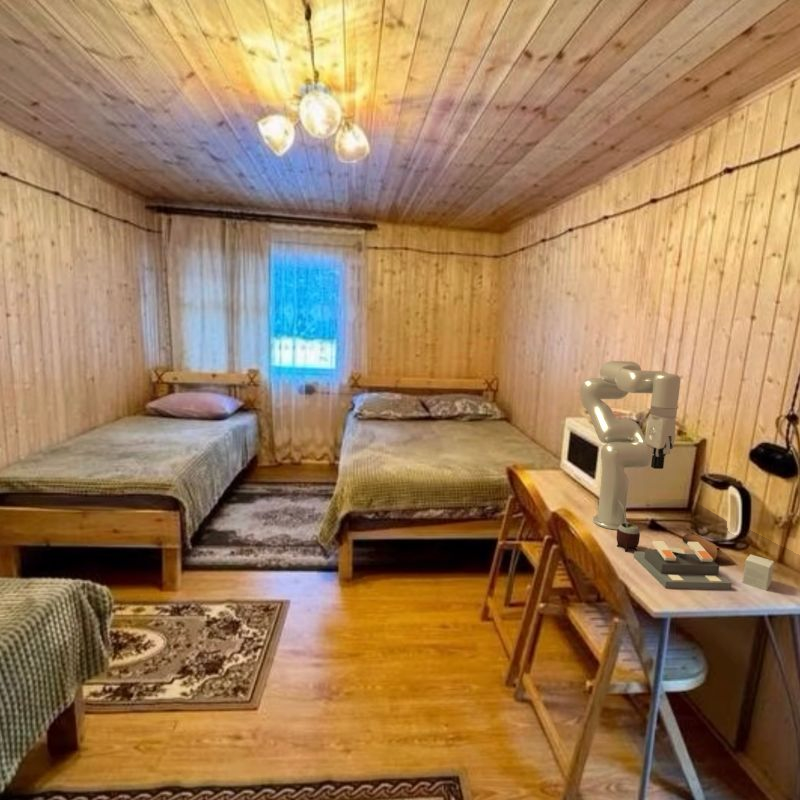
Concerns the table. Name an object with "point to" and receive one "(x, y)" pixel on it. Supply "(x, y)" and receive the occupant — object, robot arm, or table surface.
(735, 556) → the table surface
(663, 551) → the block
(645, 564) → the switch panel
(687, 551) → the rocker middle
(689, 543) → the rocker
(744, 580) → the product box
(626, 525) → the mate gourd
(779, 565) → the table surface
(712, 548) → the sunglasses case
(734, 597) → the table surface
